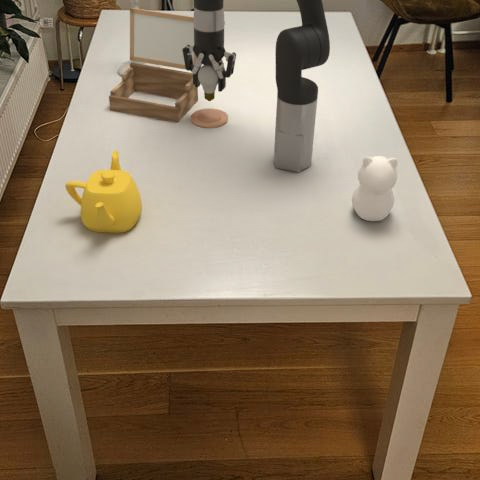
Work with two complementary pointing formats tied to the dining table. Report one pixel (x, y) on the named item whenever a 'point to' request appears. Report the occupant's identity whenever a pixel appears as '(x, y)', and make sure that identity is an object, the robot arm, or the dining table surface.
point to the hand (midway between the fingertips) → (209, 88)
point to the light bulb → (208, 81)
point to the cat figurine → (375, 188)
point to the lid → (160, 37)
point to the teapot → (108, 199)
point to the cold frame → (154, 92)
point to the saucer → (209, 118)
